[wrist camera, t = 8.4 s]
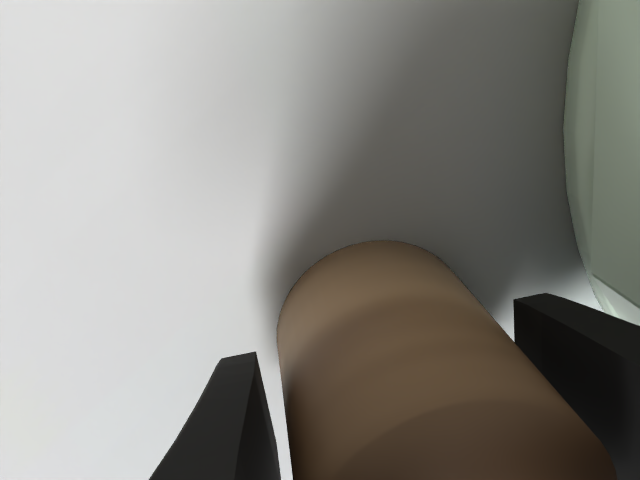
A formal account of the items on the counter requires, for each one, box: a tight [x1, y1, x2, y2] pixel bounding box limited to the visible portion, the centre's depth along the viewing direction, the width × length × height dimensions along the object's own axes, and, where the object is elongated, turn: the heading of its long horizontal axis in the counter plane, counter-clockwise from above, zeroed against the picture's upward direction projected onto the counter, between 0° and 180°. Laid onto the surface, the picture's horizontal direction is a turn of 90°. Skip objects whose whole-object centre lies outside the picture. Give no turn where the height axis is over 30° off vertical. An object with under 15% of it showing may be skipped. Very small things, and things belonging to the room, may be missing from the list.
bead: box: [277, 241, 617, 480], centre depth 9 cm, size 4×4×5 cm
